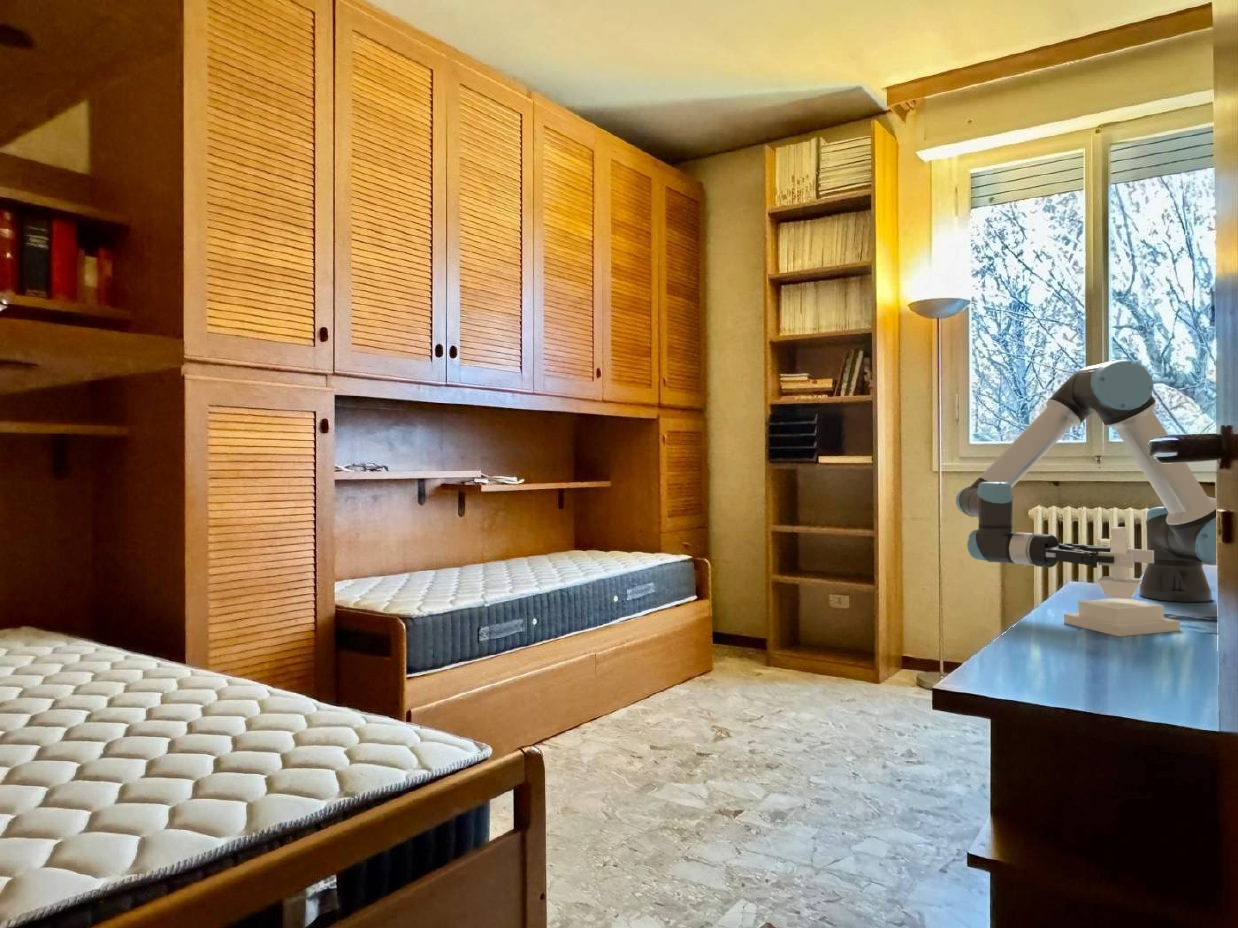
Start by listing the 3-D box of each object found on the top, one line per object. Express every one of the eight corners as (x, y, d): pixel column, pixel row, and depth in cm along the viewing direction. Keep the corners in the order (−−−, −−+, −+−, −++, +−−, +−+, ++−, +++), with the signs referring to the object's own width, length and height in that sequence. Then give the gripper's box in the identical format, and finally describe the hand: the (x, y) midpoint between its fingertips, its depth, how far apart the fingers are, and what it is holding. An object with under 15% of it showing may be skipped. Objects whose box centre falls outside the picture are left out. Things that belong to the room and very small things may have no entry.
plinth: (1122, 617, 181) (1121, 595, 181) (1180, 630, 168) (1180, 606, 167) (1064, 622, 177) (1063, 600, 177) (1119, 636, 163) (1118, 611, 163)
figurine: (1096, 598, 171) (1096, 527, 171) (1104, 591, 178) (1103, 524, 178) (1137, 601, 166) (1136, 529, 166) (1142, 595, 174) (1142, 525, 173)
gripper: (1059, 561, 193) (1165, 571, 175) (1010, 570, 180) (1119, 582, 162) (1059, 530, 193) (1164, 537, 175) (1010, 537, 180) (1119, 545, 162)
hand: (1143, 558), depth 168 cm, fingers closed on figurine, 9 cm apart
